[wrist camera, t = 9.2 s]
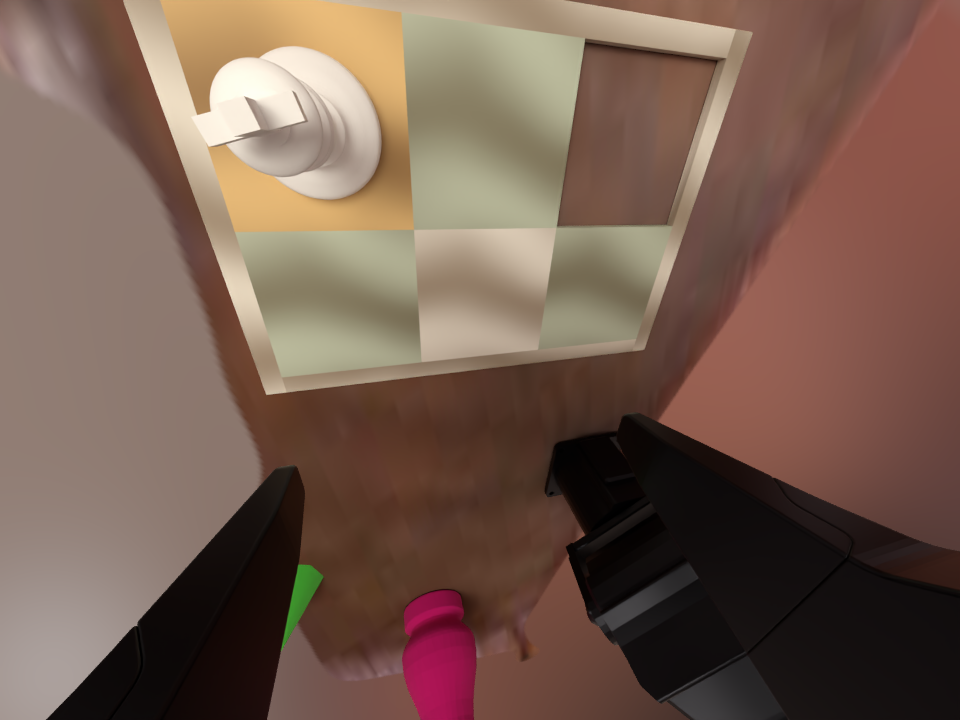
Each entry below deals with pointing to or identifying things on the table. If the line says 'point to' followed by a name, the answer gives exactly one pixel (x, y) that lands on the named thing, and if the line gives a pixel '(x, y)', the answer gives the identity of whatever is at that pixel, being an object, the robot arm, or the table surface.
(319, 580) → the gemstone
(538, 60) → the game board
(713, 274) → the table surface
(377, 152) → the chess piece
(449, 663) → the pepper mill
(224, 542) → the robot arm
